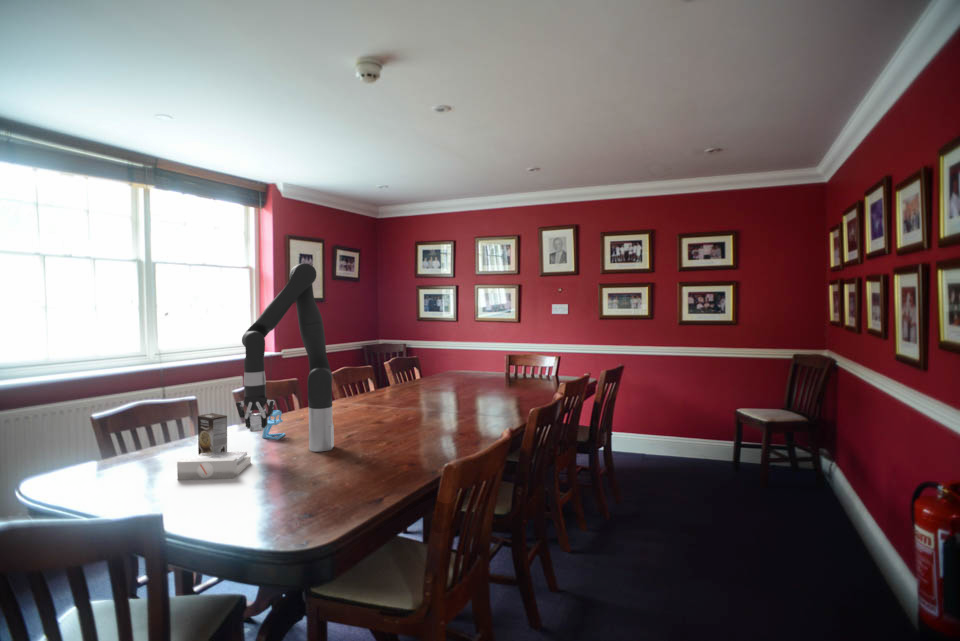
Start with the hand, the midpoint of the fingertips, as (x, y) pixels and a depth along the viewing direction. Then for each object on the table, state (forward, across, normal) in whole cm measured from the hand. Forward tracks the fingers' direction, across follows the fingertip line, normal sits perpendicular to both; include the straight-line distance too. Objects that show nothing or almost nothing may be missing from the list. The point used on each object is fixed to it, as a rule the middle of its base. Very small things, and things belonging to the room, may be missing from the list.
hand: (256, 427), depth 190 cm
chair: (+12, +3, -30) cm, 33 cm away
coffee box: (+12, +18, -3) cm, 21 cm away
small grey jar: (+1, 0, 0) cm, 1 cm away
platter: (+8, +10, +12) cm, 17 cm away
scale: (+11, +10, +14) cm, 20 cm away
